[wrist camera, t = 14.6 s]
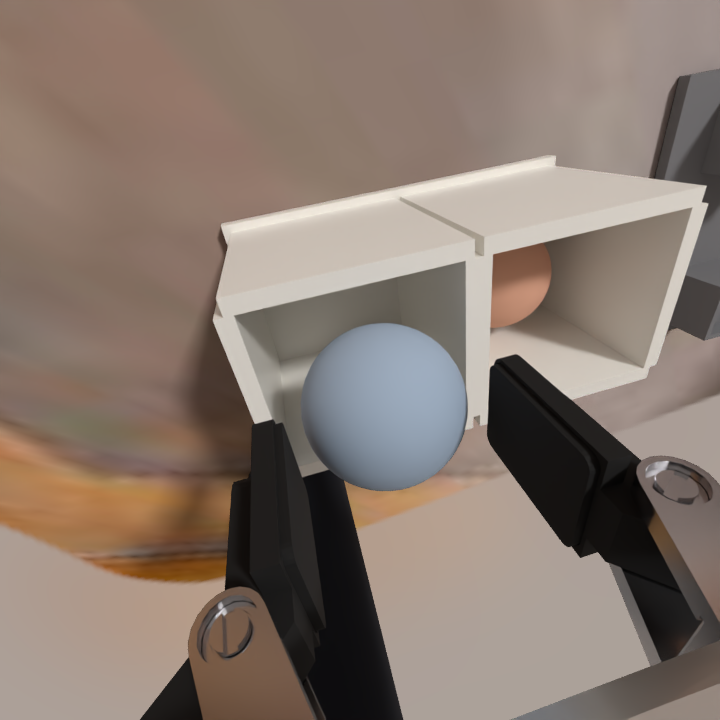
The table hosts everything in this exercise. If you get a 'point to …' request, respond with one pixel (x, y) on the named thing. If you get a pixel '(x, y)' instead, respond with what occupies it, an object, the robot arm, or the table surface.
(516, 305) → the terracotta ball
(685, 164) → the ball stand
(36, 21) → the table surface
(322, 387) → the slate ball
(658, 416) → the table surface
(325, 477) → the wine bottle
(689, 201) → the two-slot cubby shelf
